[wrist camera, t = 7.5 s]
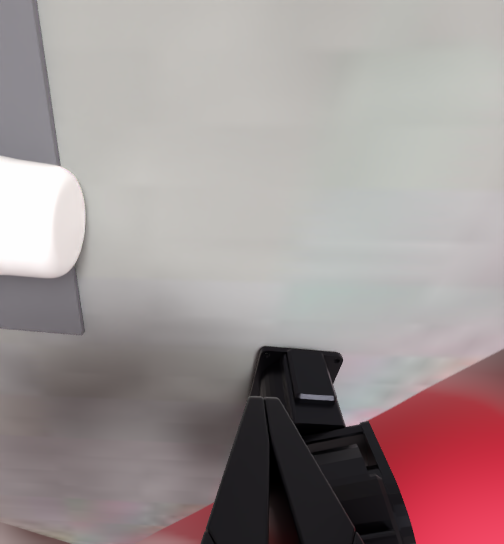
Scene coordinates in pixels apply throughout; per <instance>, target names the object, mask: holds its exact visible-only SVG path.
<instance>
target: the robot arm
mask: <svg viewBox="0 0 504 544" xmlns="http://www.w3.org/2000/svg"><path fill="white" fill-rule="evenodd" d="M265 353H268V354H265ZM342 362H343V358H342V356H341V354H340V353H336V352H324V351H313V350H301V349H289V348H278V347H263V348H262V349H261V350H260V353H259V357H258V361H257V365H256V370H255V374H254V378H253V382H252V386H251V390H250V394H249V398H248V400H247V403H246V406H245V409H244V412H243V416H242V419H241V422H240V425H239V428H238V431H237V434H236V437H235V440H234V443H233V446H232V449H231V452H230V456H229V459H228V462H227V465H226V468H225V471H224V474H223V477H222V480H221V483H220V486H219V489H218V492H217V496H216V499H215V502H214V505H213V508H212V511H211V514H210V517H209V520H208V524H207V527H206V532H204V535H203V538H202V541H201V544H416V542H415V537H414V533H413V530H412V526H411V522H410V519H409V516H408V513H407V510H406V507H405V504H404V501H403V498H402V496H401V493H400V490H399V488H398V485H397V483H396V480H395V478H394V476H393V473H392V471H391V469H390V467H389V465H388V463H387V461H386V458H385V456H384V454H383V452H382V450H381V447H380V445H379V443H378V441H377V439H376V437H375V434H374V432H373V430H372V428H371V426H370V424H369V421H366V422H361V423H360V424H359V425H354V426H349V427H346V426H345V423H344V420H343V417H342V413H341V410H340V407H339V404H338V401H337V396H336V393H335V390H334V387H333V383H334V380H335V378H336V376H337V374H338V371H339V369H340V367H341V365H342Z"/></svg>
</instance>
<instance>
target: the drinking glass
mask: <svg viewBox="0 0 504 544" xmlns="http://www.w3.org/2000/svg"><path fill="white" fill-rule="evenodd" d="M85 220H86V215H85V203H84V197H83V193H82V189H81V187H80V184H79V182H78V180H77V179H76V177H75V176H74V175H73V174H72V173H71V172H70V171H69V170H67V169H65V168H63V167H61V166H58V165H53V164H48V163H41V162H35V161H28V160H21V159H16V158H11V157H6V156H2V155H0V275H3V276H21V277H33V278H46V279H52V278H58V277H61V276H63V275H65V274H66V273H68V272H69V271H70V270H71V269H72V267H73V266H74V265H75V263H76V261H77V259H78V257H79V254H80V251H81V248H82V244H83V239H84V233H85Z"/></svg>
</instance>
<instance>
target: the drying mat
mask: <svg viewBox="0 0 504 544" xmlns="http://www.w3.org/2000/svg"><path fill="white" fill-rule="evenodd" d="M0 155H2V156H6V157H11V158H16V159H21V160H28V161H35V162H41V163H48V164H53V165H58V166H60V159H59V152H58V145H57V138H56V131H55V125H54V118H53V111H52V104H51V97H50V90H49V83H48V76H47V69H46V63H45V56H44V49H43V42H42V35H41V28H40V21H39V14H38V7H37V0H0ZM0 328H1V329H13V330H25V331H37V332H48V333H60V334H72V335H83V333H84V325H83V318H82V311H81V304H80V297H79V290H78V283H77V276H76V269H75V265H74V266H73V267H72V269H71V270H70V271H69V272H68V273H66V274H65V275H63V276H61V277H58V278H52V279H46V278H33V277H21V276H3V275H0Z"/></svg>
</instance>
